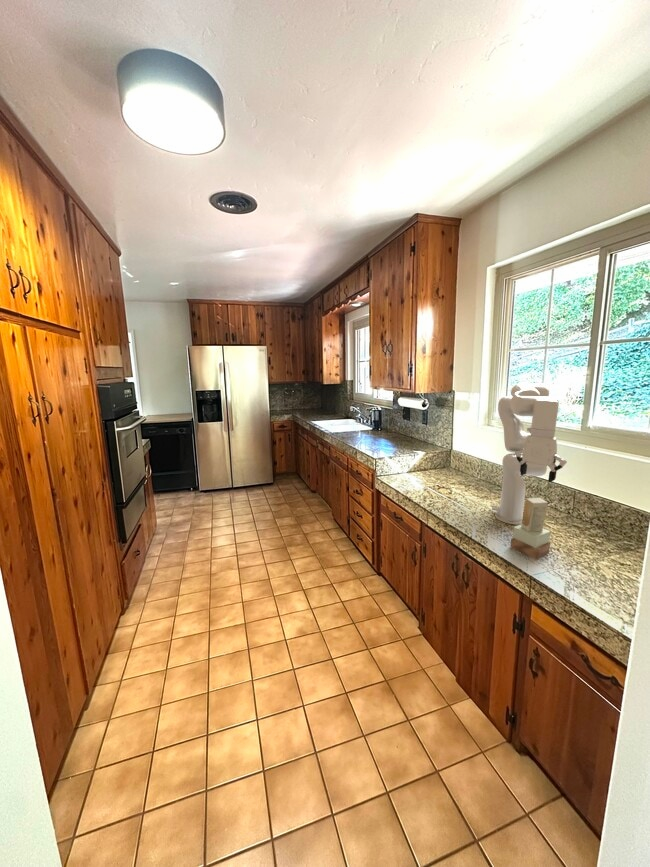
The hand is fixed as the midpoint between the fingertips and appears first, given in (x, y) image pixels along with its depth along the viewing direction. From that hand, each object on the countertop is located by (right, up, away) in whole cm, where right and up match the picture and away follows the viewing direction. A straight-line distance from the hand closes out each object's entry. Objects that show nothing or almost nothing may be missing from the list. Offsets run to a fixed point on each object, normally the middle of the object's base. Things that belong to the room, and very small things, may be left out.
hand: (536, 477), depth 129 cm
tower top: (+1, -25, +5) cm, 26 cm away
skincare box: (0, -21, +4) cm, 21 cm away
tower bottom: (+1, -29, +6) cm, 30 cm away
